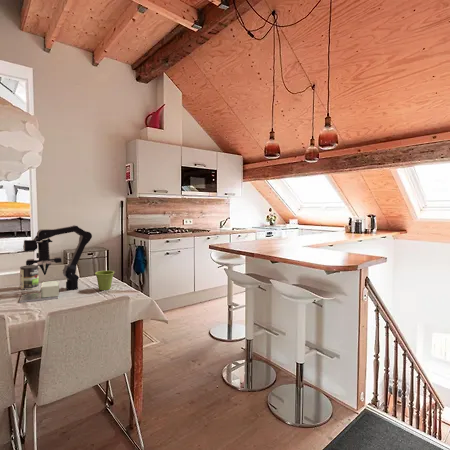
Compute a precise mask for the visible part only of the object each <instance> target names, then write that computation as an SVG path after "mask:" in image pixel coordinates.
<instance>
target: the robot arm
mask: <svg viewBox="0 0 450 450" xmlns="http://www.w3.org/2000/svg"><path fill="white" fill-rule="evenodd" d="M68 233H69V234H70V233H75V234H77V235H78V236H79V237H78V244H77V246H76V248H75V250H74V253H73V255H72V257H71V259H70V262H69V263H68V264H64V267H63V269H62V274H63V276H64V277H65V278H66V281H65V289H66V291H71V290H79V283H78V282H79V281H78V280H79V278H80V276H79V275H77V274H76V272H77V265H78V263H79V260H80V259H81V256H82V254H83V252H84V249H85V248H86V246H87V244H89V242H90V241H91V240H92V237H93V235H92V233H91V232H90V231H85V230H84V229H83V228H81V227H79V226H78V225H75V224H74V225H70V226H65V227H60V228H59V227H58V228H53V229H52V228H51V229H50V228H48V229H47V228H46V229H39V230H37V233H36V236H35V237H33V239H24V240H23V246H22V247H23V249H22V250H23V252H24V253H25V252H26V253H27V252H35V251H36V250H37V251H38V252H36V259H34V258H29V259H26V261H25V266H28V265H34V264H36V265H37V266H39V268H40V269H41V271H42V273H43V276H46V274H47V272H48V269H49V267H50V266H51V265H52V263H55V264H57V263H59V264H60V263H62V257H61V256H55V257H53V258H51V257H50V243H53V240H51V239H50V238H52V237H54V236H58V235H59V236H61V235H65V234H68ZM44 263H45V264H44ZM44 265H45V267H44Z"/></svg>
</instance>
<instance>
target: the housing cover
mask: <svg viewBox="0 0 450 450" xmlns="http://www.w3.org/2000/svg"><path fill="white" fill-rule="evenodd" d="M40 293H41V298H43V297H53V296H58V297H60V280H51V281H43V282H42V283H41V286H40Z"/></svg>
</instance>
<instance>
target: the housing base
mask: <svg viewBox="0 0 450 450" xmlns="http://www.w3.org/2000/svg"><path fill="white" fill-rule="evenodd" d="M58 298H59V296H53V297H43V298H41V292H36V293H27V294H25V293H24V294H21V296H20V299H19V300H18V303H19V304H21V303H30V302H37V301H38V302H39V301H40V302H41V301H48V300H54V299H58Z"/></svg>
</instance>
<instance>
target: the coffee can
mask: <svg viewBox="0 0 450 450" xmlns="http://www.w3.org/2000/svg"><path fill="white" fill-rule="evenodd" d="M37 265H38V264H35V265H34V264H33V265H22V266H20V267H19V269H20V271H19V272H20V290H23V289H25V290H26V289H28V290H34V289H38V288H39V287H40V284H39V283H40V282H39V280H40V278H39V276H40V275H39V273H40V272H39V268H40V266H37Z"/></svg>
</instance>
